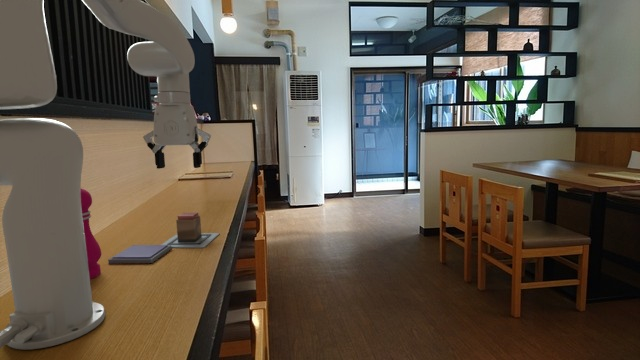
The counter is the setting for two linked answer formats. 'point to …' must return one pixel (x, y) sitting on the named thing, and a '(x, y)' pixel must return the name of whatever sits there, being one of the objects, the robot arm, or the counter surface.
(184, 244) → the light grey flat square
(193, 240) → the stamp
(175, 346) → the counter surface
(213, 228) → the counter surface
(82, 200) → the pepper mill
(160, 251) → the ink pad
